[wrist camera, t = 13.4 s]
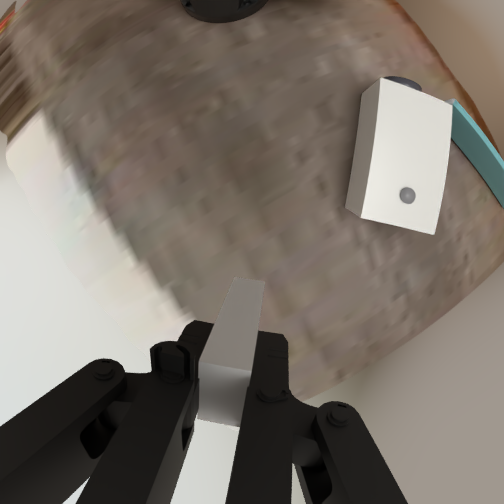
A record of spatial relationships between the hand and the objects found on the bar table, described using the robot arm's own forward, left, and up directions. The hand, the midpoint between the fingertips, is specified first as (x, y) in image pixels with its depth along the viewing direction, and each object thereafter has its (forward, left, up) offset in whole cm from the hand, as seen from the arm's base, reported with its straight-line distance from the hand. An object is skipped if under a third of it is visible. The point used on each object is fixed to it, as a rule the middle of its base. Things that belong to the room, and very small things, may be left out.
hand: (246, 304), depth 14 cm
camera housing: (-12, +16, -29) cm, 36 cm away
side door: (-17, +33, -29) cm, 47 cm away
